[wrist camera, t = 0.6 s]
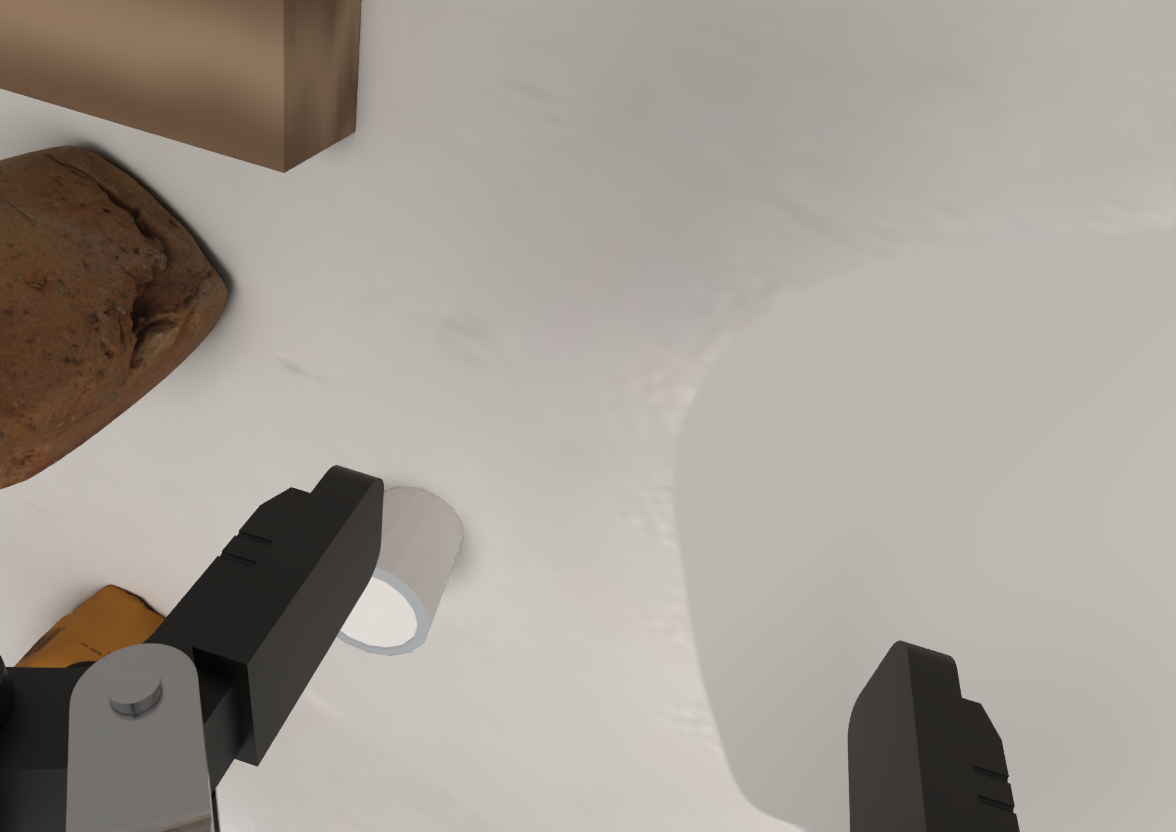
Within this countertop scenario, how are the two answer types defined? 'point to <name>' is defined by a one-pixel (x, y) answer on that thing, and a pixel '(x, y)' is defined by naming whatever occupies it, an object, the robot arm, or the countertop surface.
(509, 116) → the countertop surface
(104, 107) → the walnut riser
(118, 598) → the coffee package
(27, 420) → the block
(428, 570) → the white cylinder
